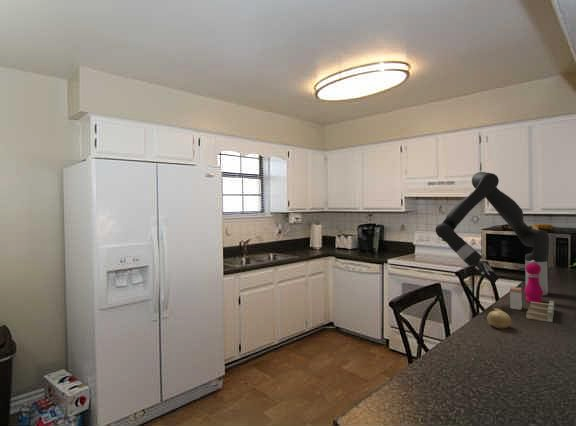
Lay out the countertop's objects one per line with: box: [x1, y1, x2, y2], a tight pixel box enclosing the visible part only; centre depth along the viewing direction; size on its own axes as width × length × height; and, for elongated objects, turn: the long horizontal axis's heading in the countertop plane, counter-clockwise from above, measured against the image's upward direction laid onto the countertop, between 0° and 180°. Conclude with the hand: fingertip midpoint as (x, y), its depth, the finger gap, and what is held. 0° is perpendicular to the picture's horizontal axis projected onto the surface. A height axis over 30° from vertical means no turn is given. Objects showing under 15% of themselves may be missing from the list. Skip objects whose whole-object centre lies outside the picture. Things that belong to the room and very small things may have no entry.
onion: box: [486, 307, 512, 330], centre depth 133 cm, size 8×8×7 cm
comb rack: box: [525, 300, 555, 323], centre depth 146 cm, size 18×8×4 cm, turn 140°
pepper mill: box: [524, 260, 543, 303], centre depth 164 cm, size 7×7×20 cm
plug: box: [509, 286, 523, 311], centre depth 155 cm, size 4×4×9 cm
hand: (496, 281), depth 160 cm, fingers open, 8 cm apart
